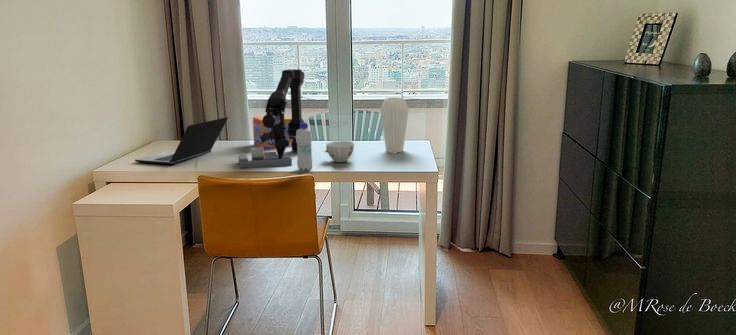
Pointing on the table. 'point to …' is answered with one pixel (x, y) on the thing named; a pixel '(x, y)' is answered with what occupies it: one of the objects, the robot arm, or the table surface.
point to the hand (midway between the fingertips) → (280, 159)
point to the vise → (263, 162)
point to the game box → (260, 128)
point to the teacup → (340, 150)
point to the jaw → (270, 155)
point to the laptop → (190, 143)
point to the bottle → (304, 147)
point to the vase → (394, 123)
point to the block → (257, 154)
